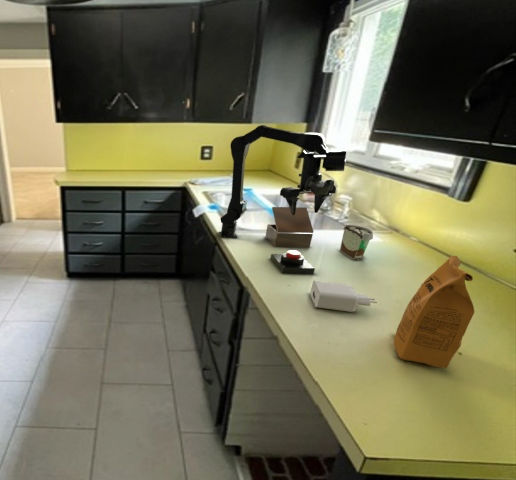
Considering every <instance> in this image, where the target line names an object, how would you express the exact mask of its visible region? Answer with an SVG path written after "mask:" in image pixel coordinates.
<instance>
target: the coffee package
mask: <svg viewBox="0 0 516 480" xmlns="http://www.w3.org/2000/svg"><path fill="white" fill-rule="evenodd" d="M461 263H462V260H461V259H460V258H459V257H458V256H457V255H451V256H450V257H449V258H448V259H447V260H446V261H445V262H443V263H442V264H441V265H440V266H439V267H438V268H437V269H436V270H435V271H433V272H432V273H431V274H430V275H429V276H428V277H427V278H425V280H424V281H423V282H422V283H421V285H420V286H419V288H418V289H417V291H416V292H415V294H414V295H413V296H412V298H411V299H410V300H409V302H408V304H407V305H406V308H405V310H404V312H403V314H402V317H401V319H400V322H399V323H398V326H397V328H396V332H395V334H394V336H393V346H394V350H395V351H396V353H397V356H398V357H399V358H400V359H402V360H404V361H409V362H414V363H415V362H416V363H423V364H426V365H428V366H432V367H435V368H443V369H447V368H448V367H449V365H450V362H451V361H452V359H453V357H454V356H455V355H456V353H457V352H458V351H459V349H460V348H461V346H462V343H463V337H464V336H465V334H466V332H467V329H468V327H469V325H470V323H471V320H472V319H473V316H474V315H475V307H474V304H473V301H472V299H471V296H470V293H469V291H468V288H467V285H466V281H467V282H472V281H473V280H474V278H473V275H472V274H470V273H469V272H467V271H466V270H463V269H461V268H459V267H460V266H461Z"/></svg>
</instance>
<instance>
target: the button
mask: <svg viewBox="0 0 516 480" xmlns="http://www.w3.org/2000/svg"><path fill="white" fill-rule="evenodd" d="M286 252H287V257H289V258H294V259H298V258H300V254H301V252H300V251H299V250H295V249H290V250H287V251H286ZM301 255H302V254H301Z"/></svg>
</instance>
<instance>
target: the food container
mask: <svg viewBox="0 0 516 480" xmlns="http://www.w3.org/2000/svg"><path fill="white" fill-rule="evenodd" d="M373 239H374V233H373V230H371V229H370V228H367V227H365V226H364V227H363V226H359V225H355V224H354V225H353V224H345V225H344V227H343V234H342V238H341V243H340V248H339V252H341V253H342V254H344V255H345V256H347V257H348V258H350V259H351V260H353V261H359V260H362V259H363V257H364V255H365V253H366V250H367V248H368V245H369V243H370V241H371V240H373Z"/></svg>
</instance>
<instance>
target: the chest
mask: <svg viewBox="0 0 516 480" xmlns="http://www.w3.org/2000/svg"><path fill="white" fill-rule="evenodd" d="M264 236H265V239H266V240H267V241H268V242H269V243H270V244H271V245H272V246H273V247H275V248H276V247H277V248H310V247H311V244H312V239H313V236H314V232H313V233H282V232H277V228H276V224H275V223H274V224H273V223H268V224H267V226H266V230H265V235H264Z"/></svg>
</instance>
